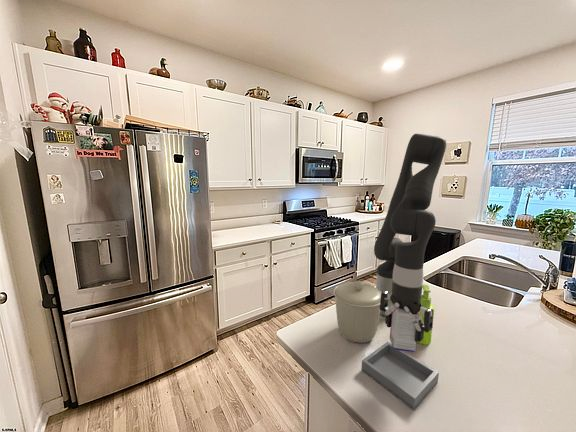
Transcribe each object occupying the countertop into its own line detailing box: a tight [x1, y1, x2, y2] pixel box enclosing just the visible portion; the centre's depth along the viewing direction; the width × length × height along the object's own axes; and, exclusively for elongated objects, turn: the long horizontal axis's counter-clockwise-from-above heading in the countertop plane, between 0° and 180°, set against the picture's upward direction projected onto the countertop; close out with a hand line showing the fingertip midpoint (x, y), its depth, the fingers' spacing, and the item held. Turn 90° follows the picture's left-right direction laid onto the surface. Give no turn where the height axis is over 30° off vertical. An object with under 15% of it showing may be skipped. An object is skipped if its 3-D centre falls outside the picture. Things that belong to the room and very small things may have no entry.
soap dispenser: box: [418, 284, 435, 346], centre depth 87 cm, size 6×7×20 cm
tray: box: [361, 341, 440, 411], centre depth 71 cm, size 16×14×4 cm
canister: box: [332, 280, 382, 344], centre depth 89 cm, size 18×18×21 cm
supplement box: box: [389, 308, 419, 353], centre depth 69 cm, size 6×6×12 cm
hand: (402, 333), depth 69 cm, fingers closed on supplement box, 8 cm apart
